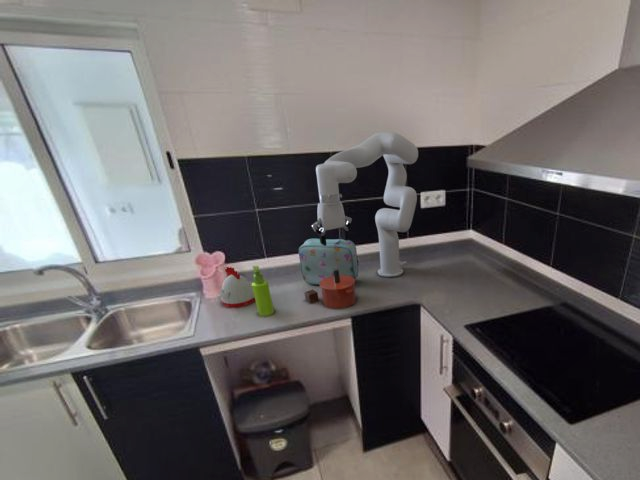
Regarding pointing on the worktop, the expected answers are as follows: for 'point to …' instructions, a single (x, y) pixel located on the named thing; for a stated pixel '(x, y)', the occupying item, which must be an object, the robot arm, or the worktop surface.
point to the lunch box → (327, 259)
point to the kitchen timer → (236, 290)
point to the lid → (337, 281)
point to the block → (311, 296)
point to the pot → (339, 297)
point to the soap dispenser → (262, 294)
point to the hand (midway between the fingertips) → (334, 242)
